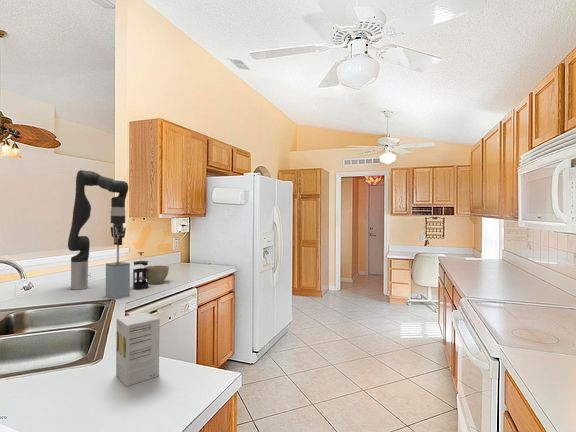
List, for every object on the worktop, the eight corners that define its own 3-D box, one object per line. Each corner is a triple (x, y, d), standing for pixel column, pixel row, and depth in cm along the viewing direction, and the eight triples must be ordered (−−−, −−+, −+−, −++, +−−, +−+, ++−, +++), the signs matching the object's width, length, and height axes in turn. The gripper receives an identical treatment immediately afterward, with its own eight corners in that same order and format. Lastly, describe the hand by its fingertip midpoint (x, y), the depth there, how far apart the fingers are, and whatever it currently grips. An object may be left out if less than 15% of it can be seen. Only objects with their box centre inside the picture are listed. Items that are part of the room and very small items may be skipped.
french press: (144, 289, 204) (145, 253, 204) (129, 289, 204) (129, 253, 204) (151, 285, 216) (152, 251, 216) (137, 285, 215) (137, 251, 215)
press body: (105, 296, 186) (105, 263, 186) (121, 293, 194) (122, 261, 194) (113, 299, 181) (113, 265, 181) (129, 296, 188) (129, 263, 188)
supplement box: (115, 375, 95) (115, 317, 95) (147, 365, 101) (147, 311, 101) (126, 387, 88) (126, 325, 88) (160, 375, 95) (160, 318, 95)
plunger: (109, 279, 187) (110, 237, 187) (120, 278, 191) (120, 236, 191) (114, 280, 183) (115, 237, 183) (125, 279, 188) (125, 237, 188)
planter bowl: (148, 286, 214) (148, 269, 214) (140, 282, 227) (140, 266, 227) (172, 283, 225) (172, 267, 225) (164, 279, 237) (164, 264, 237)
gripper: (105, 215, 188) (105, 244, 188) (117, 215, 180) (117, 246, 180) (118, 215, 194) (118, 243, 194) (130, 215, 186) (130, 245, 186)
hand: (117, 244), depth 187 cm, fingers closed on plunger, 4 cm apart
